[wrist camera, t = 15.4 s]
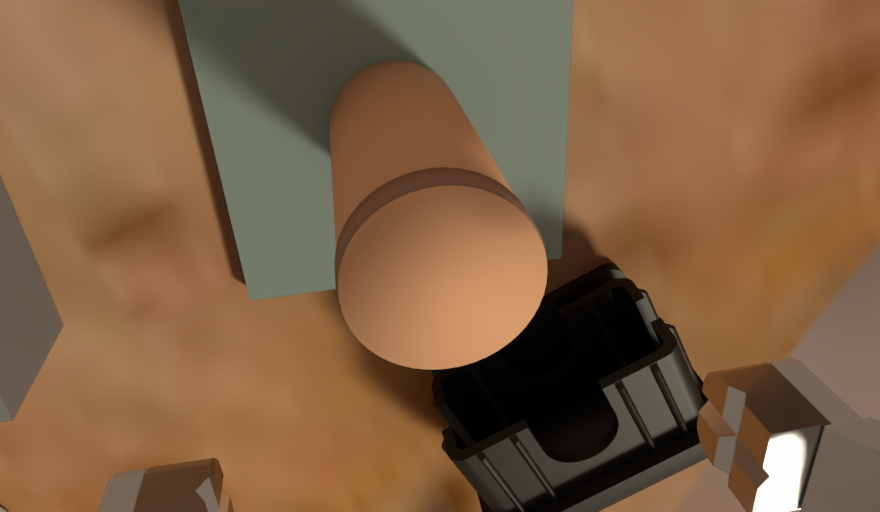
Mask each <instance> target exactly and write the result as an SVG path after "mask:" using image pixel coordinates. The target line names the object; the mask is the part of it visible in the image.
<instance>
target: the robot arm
mask: <svg viewBox="0 0 880 512" xmlns="http://www.w3.org/2000/svg"><path fill="white" fill-rule="evenodd" d="M702 392H703V393H704V395H705V396H706V397H707V398H708V401H707V402H706V404H705V405H704V406H703V407H702V408H701V409H700V411H699V413H698V422H697V430H698V435H699V440H700V444H701V446H702V448H703V450H704V453H705V455H706V456H707V458H708V459H709V460H710V462H711V463H712V465H713V466H714V467H716V468H718V469H720V470H722V471H724V472H726V473H727V474H729V482H728V487H729V488H730V490H731V491H732V492H733V494H734V495H735V497H736V498H737V499H738V501H739V502H740V503H741V505H742V506H743V508H744V509H745V510H746V512H788V511H794V510H800V509H801V510H800V512H880V421H879V420H877V419H874V418H872V417H870V418H864V419H862V418H861V417H860V416H859V415H858V414H857V413H856V412H855V411H854V410H853V409H852V408H851V407H849V406H848V405H847V404H846V403H845V402H844V401H843V400H842V399H841V398H840V397H839V396H838V395H836V394H835V393H834V392H833V391H832V390H831V389H830V388H829V387H828V386H827V385H826V384H825V383H824V382H822V381H821V380H820V379H819V378H818V377H817V376H816V375H815V374H814V373H813V372H812V371H811V370H810V369H808V368H807V367H806V366H805V365H804V364H803V363H802V362H801V361H799V360H797V359H795V358H792V357H790V358H785V359H779V360H774V361H769V362H764V363H763V364H754V365H749V366H743V367H738V368H732V369H727V370H721V371H716V372H710V373H708V375H707V376H706V378H705V379H704V383H703V389H702ZM222 483H223V473H222V470H221V467H220V464H219V461H218V460H217V459H215V458H210V459H204V460H197V461H190V462H183V463H177V464H170V465H163V466H156V467H150V468H149V469H142V470H134V471H127V472H120V473H115V474H114V475H113V476H112V477H111V479H110V480H109V481H108V483H107V486H106V489H105V492H104V495H103V498H102V501H101V504H100V507H99V510H98V512H234V511H233V506H232V502H231V499H230V496H229V495H228V494H226V493H225V492H223V491H222Z"/></svg>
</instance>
